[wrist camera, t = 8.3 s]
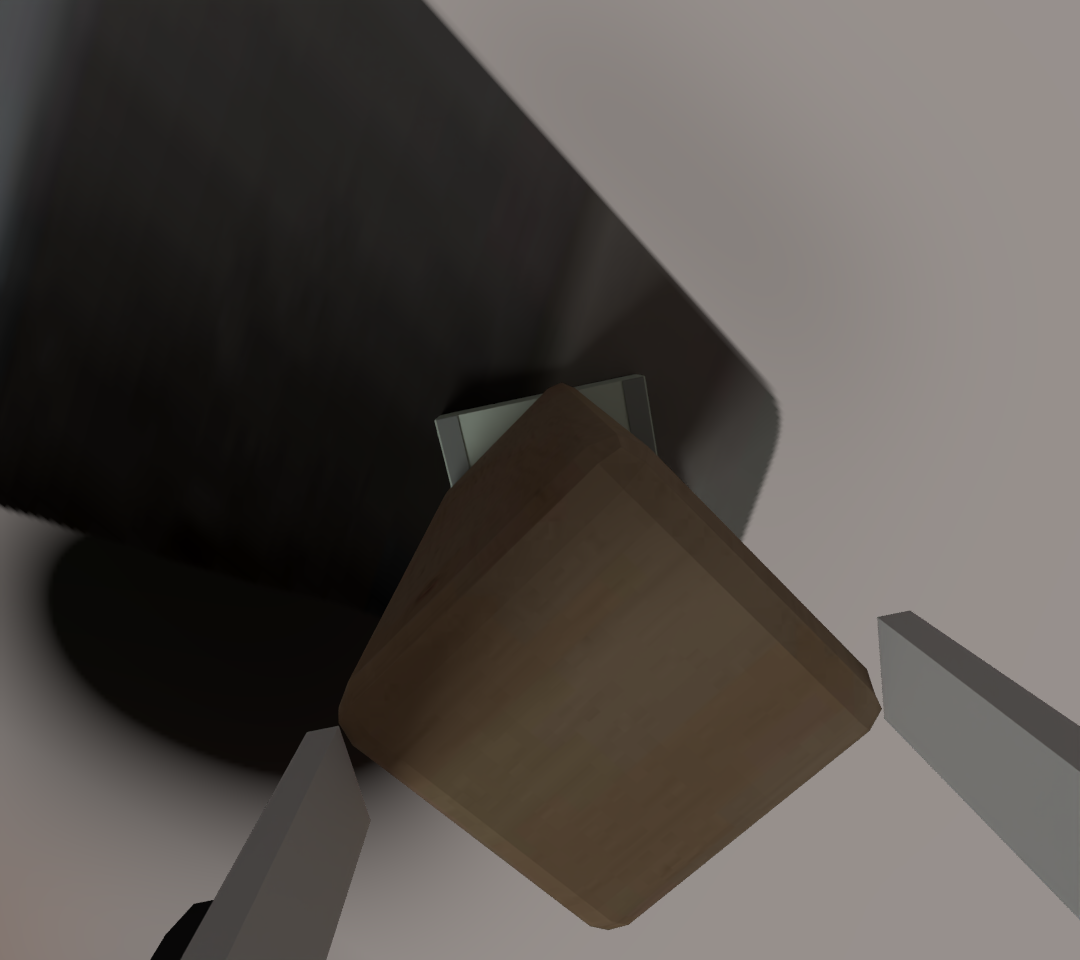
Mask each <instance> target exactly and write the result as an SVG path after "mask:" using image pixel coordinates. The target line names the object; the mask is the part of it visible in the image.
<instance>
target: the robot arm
mask: <svg viewBox="0 0 1080 960" xmlns="http://www.w3.org/2000/svg"><path fill="white" fill-rule="evenodd" d="M877 620H878V634H879V649H880V663H881V677H882V692H883V706H884V719H885V720H886V721H887V722H888V723H889V724H890V725H891V726H892V727H893V728H894V729H895V730H896V731H897V732H898V733H899V734H900V735H901V736H902V737H903V738H904V739H905V740H906V741H907V742H908V743H909V744H910V745H911V746H912V748H914V750H915V751H916V752H917V753H918V754H919V755H920V756H921V757H922V758H923V759H924V760H925V761H926V762H927V763H928V764H929V765H930V766H931V767H932V768H933V769H934V770H935V771H936V772H937V773H938V774H939V775H940V776H941V777H942V778H943V779H944V780H945V781H946V782H947V783H948V784H949V785H950V786H951V788H952V789H953V790H954V791H955V792H956V793H957V794H958V795H959V796H960V797H961V798H962V799H963V800H964V801H965V802H966V803H967V804H968V805H969V806H970V807H971V808H972V809H973V810H974V811H975V812H976V813H977V814H978V815H979V816H980V817H981V819H983V821H985V823H986V824H987V825H988V826H989V827H990V828H991V829H992V830H993V831H994V832H995V833H996V834H997V835H998V836H999V837H1000V838H1001V839H1002V840H1003V841H1004V842H1005V843H1006V844H1007V845H1008V846H1009V847H1010V848H1011V849H1012V850H1013V851H1014V852H1015V853H1016V855H1017V856H1018V857H1019V858H1020V859H1021V860H1022V861H1023V862H1024V863H1025V864H1026V865H1027V866H1028V867H1029V868H1030V869H1031V870H1032V871H1033V872H1034V873H1035V874H1036V875H1037V876H1038V877H1039V878H1040V879H1041V880H1042V881H1043V882H1044V883H1045V884H1046V885H1047V886H1048V887H1049V888H1050V890H1051V891H1052V892H1054V894H1055V895H1056V896H1057V897H1058V898H1059V899H1060V900H1061V901H1062V902H1063V903H1064V904H1065V905H1066V906H1067V907H1068V908H1069V909H1070V910H1071V911H1072V912H1073V913H1074V914H1075V915H1076V916H1077V917H1078V918H1079V919H1080V726H1078V725H1077V724H1076V723H1074V722H1073V721H1071V720H1070V719H1068V718H1067V717H1065V716H1064V715H1062V714H1061V713H1059V712H1058V711H1057V710H1055V709H1053V708H1052V707H1051V706H1049V705H1048V704H1046V703H1045V702H1043V701H1042V700H1040V699H1039V698H1037V697H1036V696H1035V695H1033V694H1031V693H1030V692H1028V691H1027V690H1026V689H1024V688H1023V687H1021V686H1020V685H1018V684H1017V683H1015V682H1014V681H1013V680H1011V679H1010V678H1008V677H1006V676H1005V675H1004V674H1002V673H1001V672H999V671H998V670H996V669H995V668H993V667H992V666H991V665H989V664H987V663H986V662H985V661H983V660H982V659H980V658H979V657H977V656H976V655H974V654H973V653H971V652H970V651H968V650H967V649H966V648H964V647H963V646H961V645H960V644H958V643H957V642H955V641H954V640H952V639H951V638H949V637H948V636H946V635H945V634H943V633H942V632H940V631H939V630H938V629H936V628H935V627H933V626H931V625H930V624H929V623H927V622H926V621H924V620H923V619H921V618H920V617H918V616H917V615H916V614H914V613H913V612H911V611H906V612H901V613H896V614H891V615H886V616H881V617H877ZM369 824H370V818H369V815H368V812H367V809H366V806H365V803H364V800H363V797H362V794H361V791H360V788H359V785H358V782H357V779H356V776H355V773H354V770H353V767H352V764H351V761H350V758H349V755H348V752H347V749H346V747H345V744H344V740H343V738H342V734H341V732H340V729H339V726H336V727H331V728H326V729H321V730H316V731H311V732H307V733H306V735H305V737H304V739H303V740H302V743H301V744H300V746H299V748H298V750H297V751H296V753H295V755H294V757H293V759H292V760H291V762H290V764H289V766H288V767H287V769H286V771H285V773H284V775H283V776H282V778H281V780H280V782H279V784H278V785H277V787H276V789H275V791H274V793H273V794H272V796H271V798H270V800H269V802H268V803H267V805H266V807H265V809H264V811H263V812H262V814H261V816H260V818H259V820H258V821H257V823H256V825H255V827H254V829H253V830H252V832H251V834H250V836H249V838H248V839H247V841H246V843H245V845H244V846H243V848H242V850H241V852H240V854H239V855H238V857H237V859H236V861H235V863H234V865H233V866H232V868H231V870H230V872H229V874H228V875H227V877H226V879H225V881H224V882H223V884H222V886H221V888H220V890H219V891H218V893H217V895H216V897H215V899H214V900H211V901H206V902H201V903H196V904H193V905H192V907H191V908H190V909H189V910H188V911H187V912H186V913H185V914H184V915H183V916H182V918H181V919H180V920H179V921H178V922H177V923H176V924H175V925H174V926H173V927H172V928H171V929H170V931H169V932H168V933H167V934H166V935H165V936H164V939H163V940H162V941H161V943H160V945H159V946H158V948H157V950H156V951H155V953H154V955H153V956H152V958H151V960H326V958H327V955H328V952H329V949H330V946H331V943H332V940H333V937H334V933H335V930H336V927H337V924H338V921H339V918H340V914H341V911H342V908H343V905H344V902H345V899H346V896H347V892H348V890H349V886H350V883H351V880H352V877H353V874H354V871H355V868H356V864H357V861H358V858H359V855H360V852H361V849H362V846H363V843H364V839H365V836H366V833H367V830H368V827H369Z"/></svg>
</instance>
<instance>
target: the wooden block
mask: <svg viewBox="0 0 1080 960" xmlns="http://www.w3.org/2000/svg"><path fill="white" fill-rule="evenodd" d="M881 709H882V708H881V706H880V704H879V702H878V700H877V698H876V695H875V693H874V690H873V687H872V684H871V681H870V678H869V674H868V671H867V669H866V668H865V667H864V666H863V665H862V664H861V663H860V662H859V661H858V660H857V659H856V658H855V657H854V656H853V655H852V654H851V653H850V652H849V651H848V650H847V649H846V648H845V647H844V646H843V645H842V643H841V642H840V641H839V640H837V639H836V637H835V636H834V635H832V633H831V632H830V631H829V630H828V629H827V628H826V627H825V626H824V625H823V624H822V623H821V622H820V621H819V620H818V619H817V618H815V616H814V615H813V614H812V613H811V612H810V611H809V610H808V609H807V608H806V607H805V606H804V605H803V604H802V603H801V602H800V601H799V600H798V599H797V598H796V597H795V596H794V595H793V594H792V593H791V592H790V591H789V590H788V589H787V588H786V586H785V585H783V583H782V582H781V581H780V580H779V579H778V578H777V577H776V576H775V575H774V574H773V573H772V572H771V571H770V570H769V569H768V568H767V567H766V566H765V565H764V564H763V563H762V562H761V561H760V560H759V559H758V558H757V557H756V556H755V555H754V554H753V553H752V552H751V551H750V550H749V549H748V548H747V547H746V546H745V545H744V544H743V543H742V542H741V541H740V540H739V539H738V538H737V537H736V536H735V535H734V533H733V532H732V531H731V530H730V529H729V528H728V527H727V526H726V525H725V524H724V523H723V522H722V521H721V520H720V519H719V518H718V517H717V516H716V515H715V514H714V513H713V512H712V511H711V510H710V509H709V508H708V507H707V506H706V505H705V504H704V503H703V502H702V501H701V500H700V499H699V498H698V497H697V496H696V495H695V494H694V493H693V492H692V491H691V490H690V489H689V488H688V487H687V486H686V485H685V484H684V483H683V482H682V481H681V479H680V478H679V477H678V476H677V475H676V474H675V473H674V472H673V471H672V470H671V469H670V468H669V467H668V466H667V465H666V464H665V463H664V462H663V461H662V460H661V459H660V458H659V457H658V456H657V455H656V454H655V453H654V452H653V451H652V450H651V449H650V448H649V447H648V446H647V445H645V444H644V443H643V442H642V441H640V440H639V439H638V438H637V437H635V436H634V435H633V434H632V433H630V432H629V431H628V430H627V429H625V428H624V427H623V426H622V425H620V424H619V423H618V422H617V421H615V420H614V419H613V418H612V417H610V416H609V415H608V414H607V413H605V412H604V411H603V410H602V409H600V408H599V407H598V406H597V405H595V404H594V403H593V402H592V401H590V400H589V399H588V398H587V397H585V396H584V395H583V394H582V393H580V392H579V391H578V390H577V389H575V388H574V387H571V386H569V385H566V384H564V383H559V384H557V385H555V386H552V387H550V388H548V389H547V390H546V391H545V392H544V393H543V394H542V395H541V396H540V397H539V398H538V399H537V400H536V401H535V402H534V403H533V404H532V405H531V406H530V407H529V408H528V409H527V410H526V411H525V412H524V414H523V415H522V416H521V417H520V418H519V419H518V420H517V421H516V422H515V423H514V424H513V425H512V426H511V427H510V428H509V429H508V430H507V431H506V432H505V433H504V434H503V435H502V436H501V437H500V438H499V439H498V440H497V441H496V442H495V443H494V444H493V445H492V446H491V447H490V448H489V449H488V450H487V451H486V452H485V453H484V455H483V456H482V457H481V458H480V459H479V460H478V461H477V462H476V463H475V464H474V465H473V466H472V467H471V468H470V469H469V470H468V471H467V472H466V473H465V474H464V475H463V476H462V477H461V478H460V479H459V480H458V481H457V482H456V483H455V484H454V485H453V486H452V487H451V488H450V489H449V490H448V491H447V492H446V494H445V496H444V498H443V500H442V502H441V504H440V506H439V508H438V510H437V512H436V514H435V516H434V518H433V519H432V521H431V523H430V525H429V527H428V529H427V531H426V533H425V535H424V537H423V539H422V541H421V543H420V545H419V546H418V548H417V550H416V552H415V554H414V556H413V558H412V560H411V562H410V564H409V566H408V568H407V570H406V572H405V573H404V575H403V577H402V579H401V581H400V583H399V585H398V587H397V589H396V591H395V593H394V595H393V597H392V599H391V601H390V602H389V604H388V606H387V608H386V610H385V612H384V614H383V616H382V618H381V620H380V622H379V624H378V626H377V628H376V629H375V631H374V633H373V636H372V637H371V639H370V641H369V643H368V645H367V647H366V649H365V651H364V653H363V655H362V657H361V658H360V660H359V662H358V664H357V666H356V668H355V670H354V672H353V674H352V676H351V678H350V680H349V682H348V684H347V687H346V690H345V692H344V695H343V698H342V701H341V704H340V706H339V724H340V726H341V727H342V729H343V730H344V732H345V733H346V735H347V737H348V738H349V740H350V741H351V743H352V745H354V746H355V747H356V748H357V749H359V750H360V751H361V752H363V753H364V754H365V755H367V756H368V757H369V758H371V759H372V760H373V761H375V762H376V763H377V764H378V765H380V766H381V767H382V768H384V769H385V770H386V771H388V772H389V773H390V774H391V775H393V776H394V777H395V778H397V779H398V780H399V781H401V782H402V783H403V784H405V785H406V786H407V787H409V788H410V789H411V790H412V791H414V792H415V793H416V794H418V795H419V796H420V797H422V798H423V799H424V800H426V801H427V802H428V803H429V804H431V805H432V806H433V807H435V808H436V809H437V810H439V811H440V812H441V813H443V814H444V815H445V816H447V817H448V818H449V819H450V820H452V821H453V822H454V823H456V824H457V825H458V826H460V827H461V828H462V829H464V830H465V831H466V832H467V833H469V834H470V835H472V836H473V837H474V838H475V839H477V840H478V841H479V842H481V843H482V844H483V845H484V846H486V847H487V848H488V849H490V850H491V851H492V852H494V853H495V854H496V855H498V856H499V857H500V858H502V859H503V860H504V861H506V862H507V863H508V864H509V865H511V866H512V867H513V868H515V869H516V870H517V871H519V872H520V873H521V874H523V875H524V876H525V877H527V878H528V879H529V880H530V881H532V882H533V883H534V884H536V885H537V886H538V887H540V888H541V889H542V890H544V891H545V892H546V893H547V894H549V895H550V896H551V897H553V898H554V899H555V900H557V901H558V902H559V903H560V904H562V905H563V906H564V907H566V908H567V909H568V910H570V911H571V912H572V913H574V914H575V915H576V916H578V917H579V918H580V919H581V920H583V921H584V922H586V923H587V924H588V925H589V926H592V927H597V928H601V929H606V930H610V929H614V928H618V927H622V926H625V925H629V924H630V923H631V922H632V921H633V920H635V919H636V918H637V917H638V916H640V915H641V914H642V913H644V912H645V911H646V910H647V909H648V908H650V907H651V906H652V905H654V904H655V903H656V902H657V901H658V900H660V899H661V898H662V897H663V896H665V895H666V894H667V893H668V892H670V891H671V890H672V889H673V888H675V887H676V886H677V885H678V884H680V883H681V882H682V881H683V880H685V879H686V878H687V877H688V876H690V875H691V874H692V873H693V872H694V871H696V870H697V869H698V868H699V867H701V866H702V865H703V864H705V863H706V862H707V861H708V860H709V859H711V858H712V857H713V856H714V855H716V854H717V853H718V852H719V851H721V850H722V849H723V848H724V847H726V846H727V845H728V844H729V843H731V842H732V841H733V840H734V839H736V838H737V837H738V836H739V835H741V834H742V833H743V832H744V831H746V830H747V829H748V828H749V827H751V826H752V825H753V824H754V823H755V822H757V821H758V820H759V819H760V818H762V817H763V816H764V815H765V814H767V813H768V812H769V811H770V810H772V809H773V808H774V807H775V806H777V805H778V804H779V803H780V802H782V801H783V800H784V799H785V798H787V797H788V796H789V795H790V794H791V793H793V792H794V791H795V790H797V789H798V788H799V787H800V786H802V785H803V784H804V783H805V782H806V781H808V780H809V779H810V778H811V777H813V776H814V775H815V774H816V773H818V772H819V771H820V770H821V769H823V768H824V767H825V766H826V765H827V764H829V763H830V762H831V761H833V760H834V759H835V758H836V757H838V756H839V755H840V754H841V753H843V752H844V751H845V750H846V749H848V748H849V747H850V746H851V745H852V744H854V743H855V742H856V741H857V740H859V739H860V738H861V737H862V736H864V735H865V734H866V733H867V732H869V731H870V729H871V727H872V725H873V724H874V722H875V720H876V718H877V717H878V715H879V713H880V711H881Z"/></svg>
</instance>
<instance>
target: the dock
mask: <svg viewBox="0 0 1080 960" xmlns="http://www.w3.org/2000/svg"><path fill="white" fill-rule="evenodd" d="M574 388H575V389H577V390H578V391H579V392H580V393H582V394H583V395H584V396H585V397H587V398H588V399H589V400H590V401H592V402H593V403H594V404H595V405H597V406H598V407H599V408H600V409H602V410H603V411H604V412H605V413H607V414H608V415H609V416H610V417H612V418H613V419H614V420H615V421H617V422H618V423H619V424H620V425H622V426H623V427H624V428H625V429H627V430H628V431H629V432H630V433H632V434H633V435H634V436H635V437H637V438H638V439H639V440H640V441H642V442H643V443H644V444H645V445H647V446H648V447H649V448H650V449H651V450H652V451H653V452H654V453H655V454H656V455H657V449H656V442H655V436H654V430H653V424H652V417H651V411H650V405H649V399H648V392H647V386H646V380H645V376H643V375H639V374H633V375H629V376H624V377H619V378H614V379H610V380H605V381H600V382H595V383H591V384H586V385H581V386H576V387H574ZM541 395H542V394H538V395H534V396H529V397H524V398H519V399H515V400H510V401H505V402H501V403H496V404H491V405H486V406H482V407H477V408H472V409H467V410H463V411H458V412H453V413H448V414H444V415H440V416H439V417H438V418H437V419H435V424H436V428H437V432H438V436H439V440H440V444H441V448H442V452H443V456H444V460H445V464H446V468H447V472H448V476H449V480H450V484H451V487H452V486H453V485H454V484H455V483H456V482H457V481H458V480H459V479H460V478H461V477H462V476H463V475H464V474H465V473H466V472H467V471H468V470H469V469H470V468H471V467H472V466H473V465H474V464H475V463H476V462H477V461H478V460H479V459H480V458H481V457H482V456H483V455H484V453H485V452H486V451H487V450H488V449H489V448H490V447H491V446H492V445H493V444H494V443H495V442H496V441H497V440H498V439H499V438H500V437H501V436H502V435H503V434H504V433H505V432H506V431H507V430H508V429H509V428H510V427H511V426H512V425H513V424H514V423H515V422H516V421H517V420H518V419H519V418H520V417H521V416H522V415H523V414H524V412H525V411H526V410H527V409H528V408H529V407H530V406H531V405H532V404H533V403H534V402H535V401H536V400H537V399H538V398H539V397H540V396H541ZM657 456H658V455H657Z"/></svg>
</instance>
